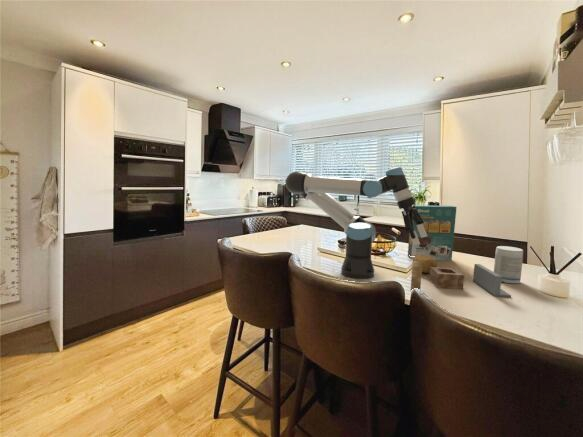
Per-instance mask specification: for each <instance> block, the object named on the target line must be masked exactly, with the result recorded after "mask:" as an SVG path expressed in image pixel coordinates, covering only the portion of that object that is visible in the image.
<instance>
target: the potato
mask: <svg viewBox="0 0 583 437" xmlns="http://www.w3.org/2000/svg"><path fill="white" fill-rule="evenodd" d="M413 261H420V262H422V274H423V273H425V274H430V267H437V266H438V262H437V260H434V259H433V258H432V257H429V256H425V255H416V256H415V257H414V258H413V259H412V262H413Z"/></svg>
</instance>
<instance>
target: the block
mask: <svg viewBox="0 0 583 437" xmlns="http://www.w3.org/2000/svg"><path fill="white" fill-rule="evenodd" d="M429 281H430V282H431V283H432V284H433V286H435V287H436V288H438V289H452V290H464V285H465V284H464V283H465V274H464V273H462V272H461V271H460V270H458V269H456V268H455V267H430V273H429Z"/></svg>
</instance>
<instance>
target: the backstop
mask: <svg viewBox="0 0 583 437" xmlns="http://www.w3.org/2000/svg"><path fill="white" fill-rule="evenodd" d="M473 266H474V268H473V274H472V282H473V283H475V284H476V285H477V286H478V287H480V288H481V289H483V290H484V291H485V292H487V293H488V294H490V296H492V297H499V298H512V295H511V294H509V293H508V292H506V291H505V290H503V289H502V288H501V286H502V282H501V279H502V276H500V275H498V274H496V273H494V270H493V271H492V270H490V269H489V268H487V267H486V266H484V265H482V264H480V263H474V265H473Z"/></svg>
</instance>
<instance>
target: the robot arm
mask: <svg viewBox="0 0 583 437" xmlns="http://www.w3.org/2000/svg"><path fill="white" fill-rule="evenodd" d="M285 188H286V190H288V192H289V193H291V194H294V195H300V196H301V197H303V199H305V200H306V201H309V200H310V201H311V202H312V203H314V204H315V205H316V206H317V207H318V208H319V209H321V210H322V211H323V212H324V213H325V214H326V215H328V216H329V217H330V218H331V219H332V220H333V221H335V223H337V224H338V225H339V226H340V227H342V229H343V231H344V234H345V235H346V236H345V237H346V238H345V239H346V240H345V258H344V260H343V262H342V265H341V274H342V275H344V276H346V277H347V278H353V279H370V278H373V277H374V276H375V268H374V264H373V260H372V248H373V243H374V241H375V240H376V237H377V229H376V227H375V226H374V224H372V223H371V222H369V221H367V220H365V219H364V218H363V217H361V216H360V215H354V214H353V213H352V212H351V211H349V210H348V209H347V208H346V207H344V206H343V204H342V203H340V202H339V201H337V199H336V198H334V197H333V196H332V195H330V194H336V195H346V196H348V195H349V196H359V197H360V196H362V197H367V199H372V198H377V197H378V196H380V195H383V194H385V193H388V192H391V191H392V193H393V197H394V199H395V201H397V202H396V203H397V206H398V209H400V210H401V209H403V210H402V211H401V215H402V219H403V223H404V228H405V233H406V234H407V233H408V236H409V235H410V237H411V240H412V242H413V245H419V244H420V242H419V239H418V237H417V234H416V232H415V231H414V227H413V220H414V221H415V222H416V224H417V228H418V230H419V233H420V236H421V238H423V237H427V234H426V231H425V229H424V226H423V224H422V223H424V221H423V220H422V218H421V216H420V215H419V213H418V211H417V209H416V207H415V204H416V202H415V199H414V197H413V194H412V189H411V188H410V186H409V183H408V181H407V178H406V175H405V173H404V171H403V168H402V167H401V166H396V167H393V168H390V169H388V170H386V171H385V176H382V177H381V178H376V179H363V178H349V177H348V178H347V177H345V178H344V177H330V176H329V177H327V176H314V175H313V174H312V173H310V172H307V171H292V172H290V173H289V174H288V175H287V176H286V178H285ZM412 205H413V206H412Z"/></svg>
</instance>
